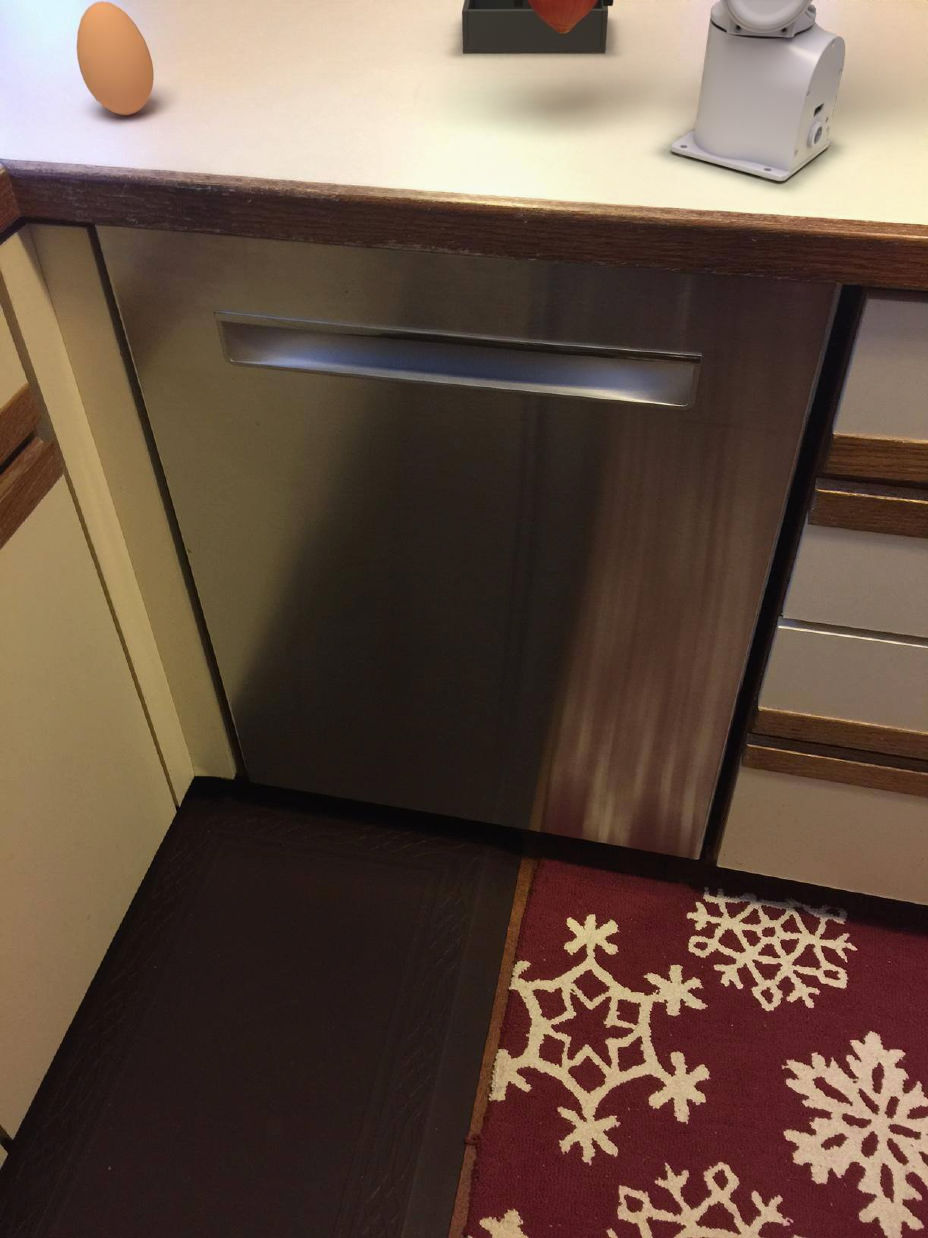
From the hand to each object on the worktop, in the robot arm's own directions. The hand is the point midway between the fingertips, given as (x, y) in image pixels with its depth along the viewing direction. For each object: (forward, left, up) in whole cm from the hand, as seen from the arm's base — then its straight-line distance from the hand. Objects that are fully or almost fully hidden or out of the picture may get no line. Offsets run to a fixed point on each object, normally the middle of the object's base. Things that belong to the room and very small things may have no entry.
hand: (562, 1), depth 75 cm
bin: (+15, -17, -9) cm, 24 cm away
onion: (0, 0, -2) cm, 2 cm away
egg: (+32, +17, -10) cm, 38 cm away
